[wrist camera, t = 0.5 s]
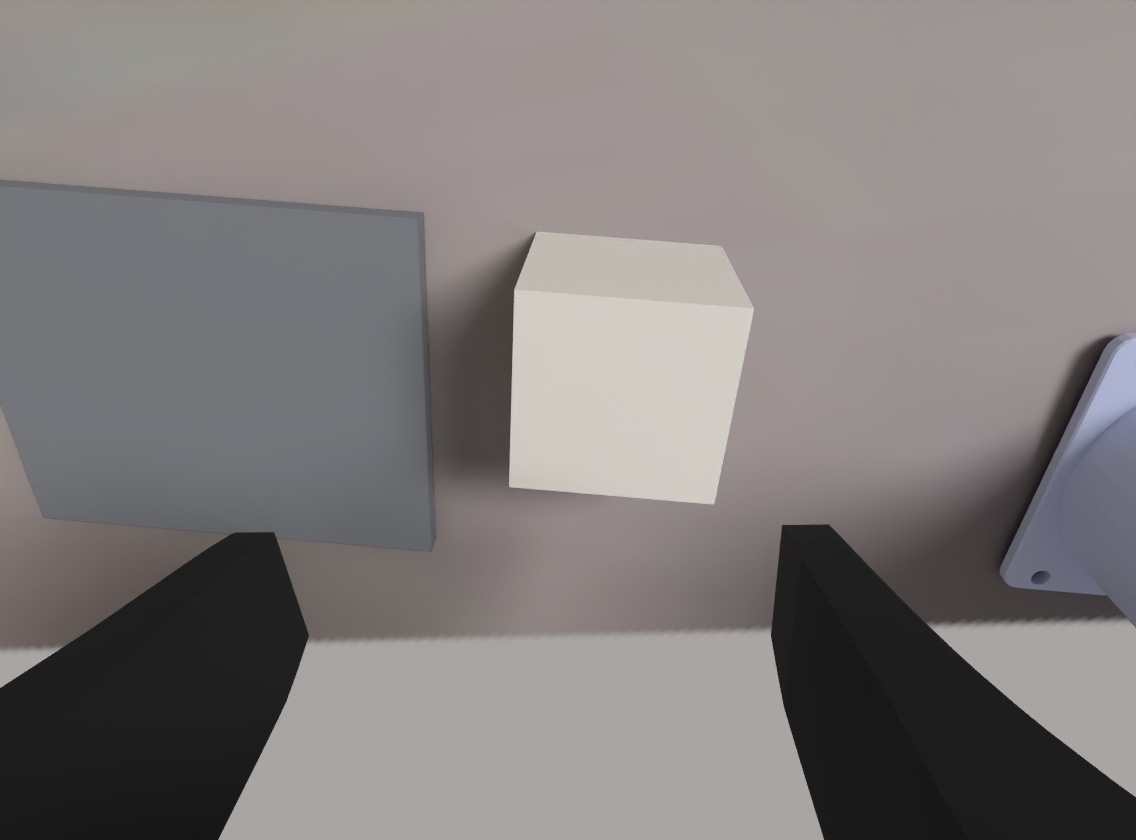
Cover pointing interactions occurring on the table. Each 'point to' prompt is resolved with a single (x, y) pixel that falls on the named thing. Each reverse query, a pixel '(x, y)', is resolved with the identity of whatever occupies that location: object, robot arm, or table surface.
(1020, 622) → the table surface
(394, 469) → the gray mat
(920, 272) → the table surface
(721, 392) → the cream cube
